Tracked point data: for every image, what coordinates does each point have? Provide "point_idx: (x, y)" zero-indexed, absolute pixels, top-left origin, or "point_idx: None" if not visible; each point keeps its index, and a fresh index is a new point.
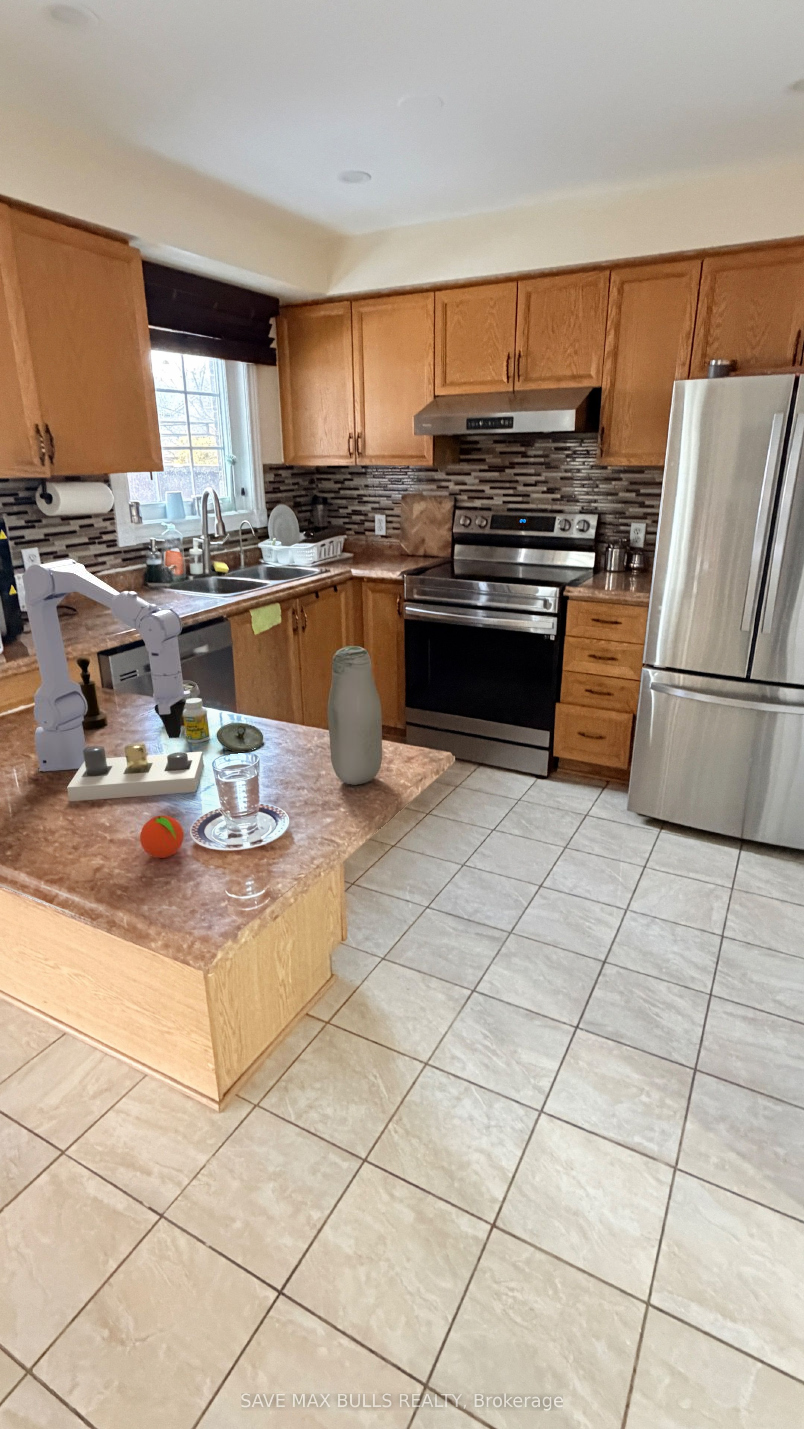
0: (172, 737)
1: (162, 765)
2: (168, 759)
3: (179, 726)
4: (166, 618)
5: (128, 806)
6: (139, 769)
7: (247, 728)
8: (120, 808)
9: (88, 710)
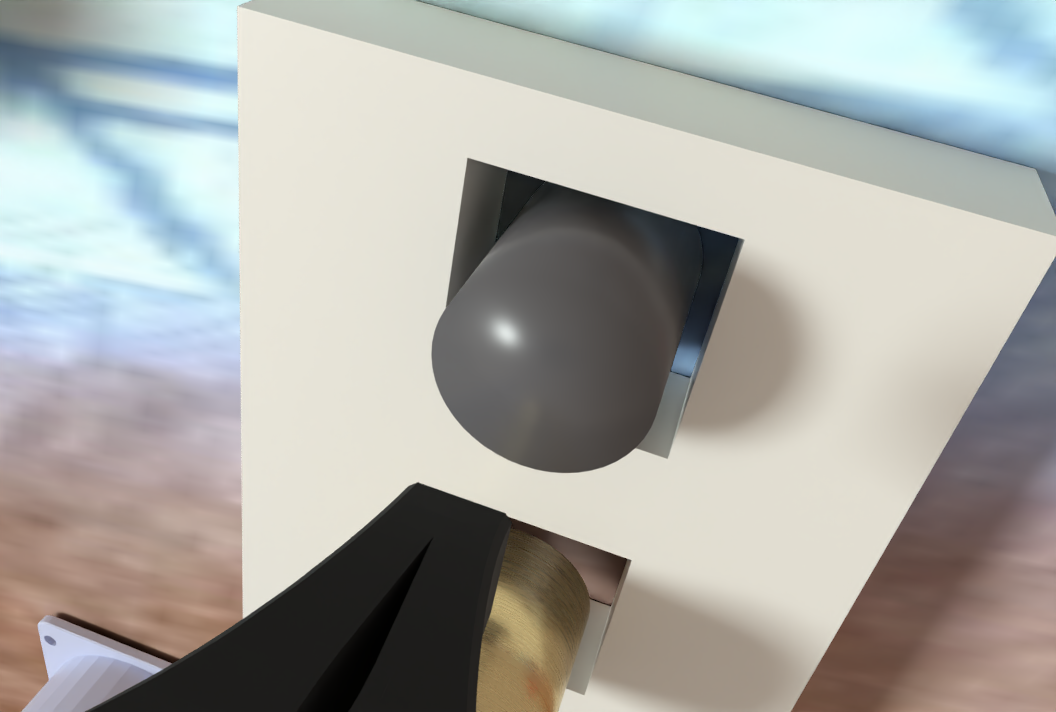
0: (495, 591)
1: None
2: (595, 466)
3: (478, 664)
4: None
5: (973, 666)
6: (581, 621)
7: None
8: (973, 707)
9: None
